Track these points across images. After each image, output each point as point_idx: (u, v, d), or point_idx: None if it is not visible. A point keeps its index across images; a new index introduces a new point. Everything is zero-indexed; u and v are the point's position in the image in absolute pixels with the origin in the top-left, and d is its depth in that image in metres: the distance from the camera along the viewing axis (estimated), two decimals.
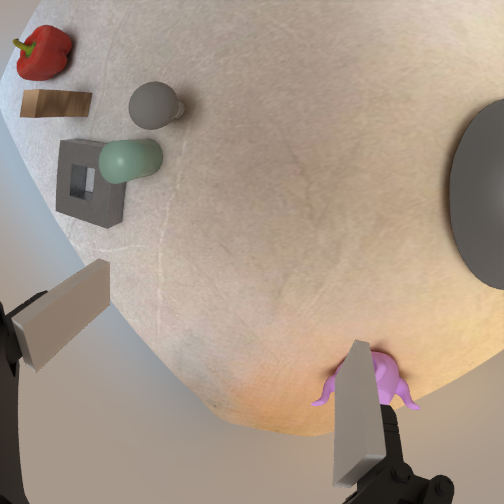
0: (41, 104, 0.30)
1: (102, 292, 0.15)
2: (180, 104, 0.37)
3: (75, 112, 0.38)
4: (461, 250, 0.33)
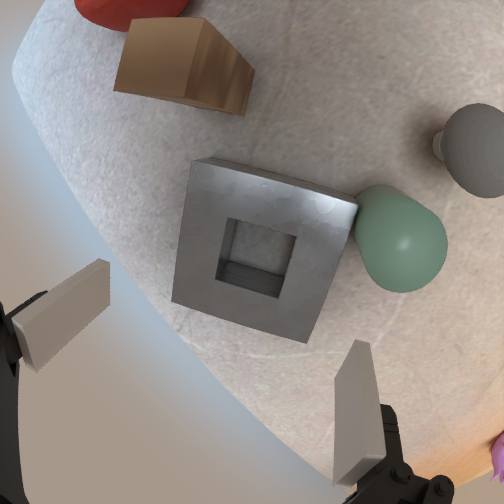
0: (200, 63, 0.12)
1: (102, 292, 0.15)
2: None
3: (235, 104, 0.20)
4: None
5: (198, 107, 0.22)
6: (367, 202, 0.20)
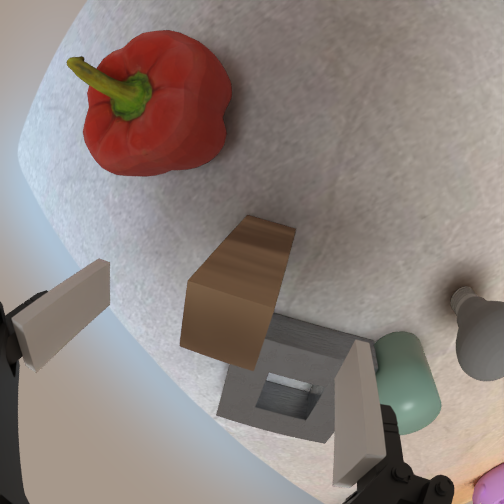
0: None
1: (102, 292, 0.15)
2: None
3: None
4: None
5: None
6: (386, 365, 0.22)
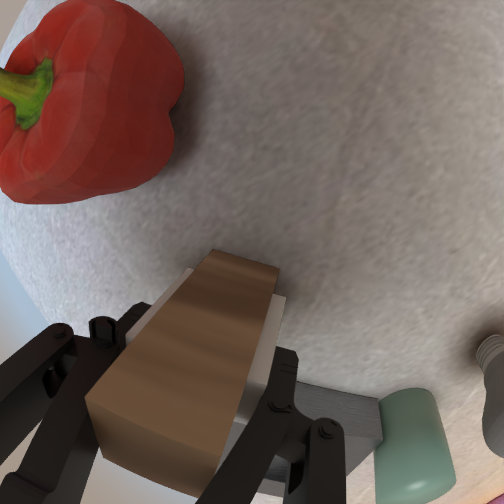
0: None
1: None
2: None
3: None
4: None
5: None
6: (393, 435, 0.16)
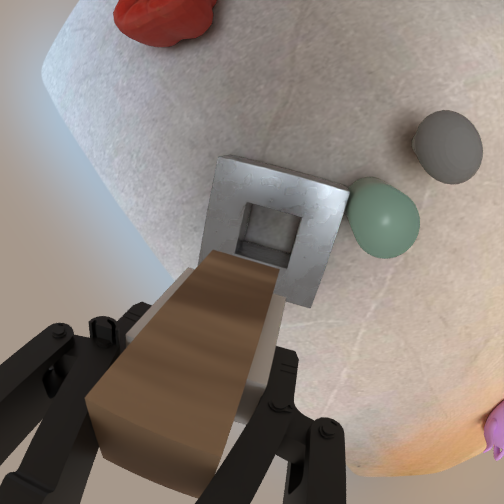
0: None
1: None
2: None
3: None
4: None
5: None
6: (357, 190, 0.25)
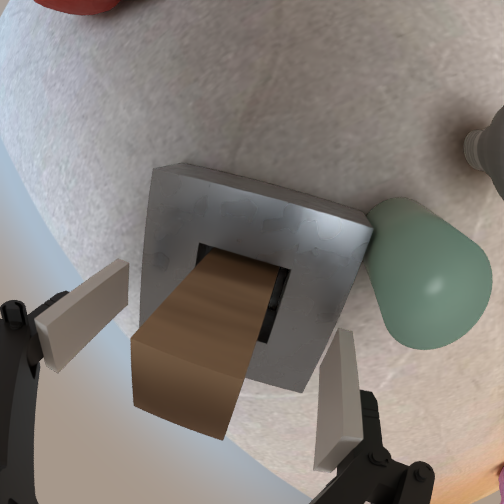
0: None
1: (121, 292, 0.15)
2: None
3: None
4: None
5: None
6: (385, 224, 0.15)
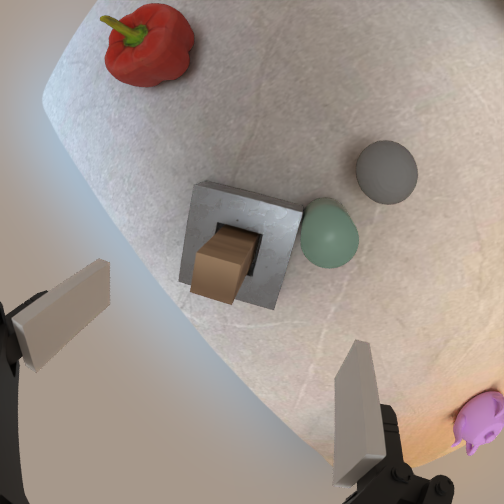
0: (238, 282, 0.27)
1: (102, 292, 0.15)
2: None
3: (250, 263, 0.35)
4: None
5: None
6: (309, 210, 0.31)
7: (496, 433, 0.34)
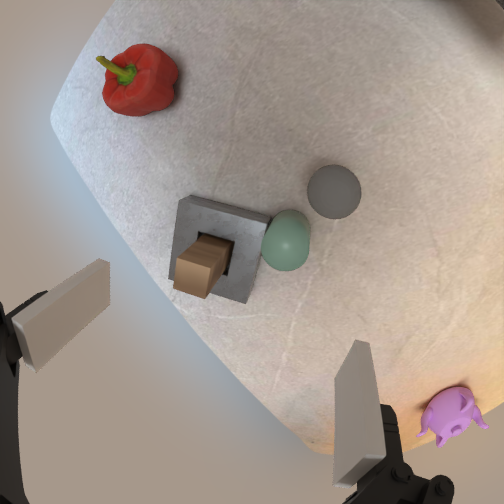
0: (210, 281, 0.35)
1: (102, 292, 0.15)
2: None
3: (226, 264, 0.42)
4: None
5: None
6: (272, 222, 0.38)
7: (464, 427, 0.40)
